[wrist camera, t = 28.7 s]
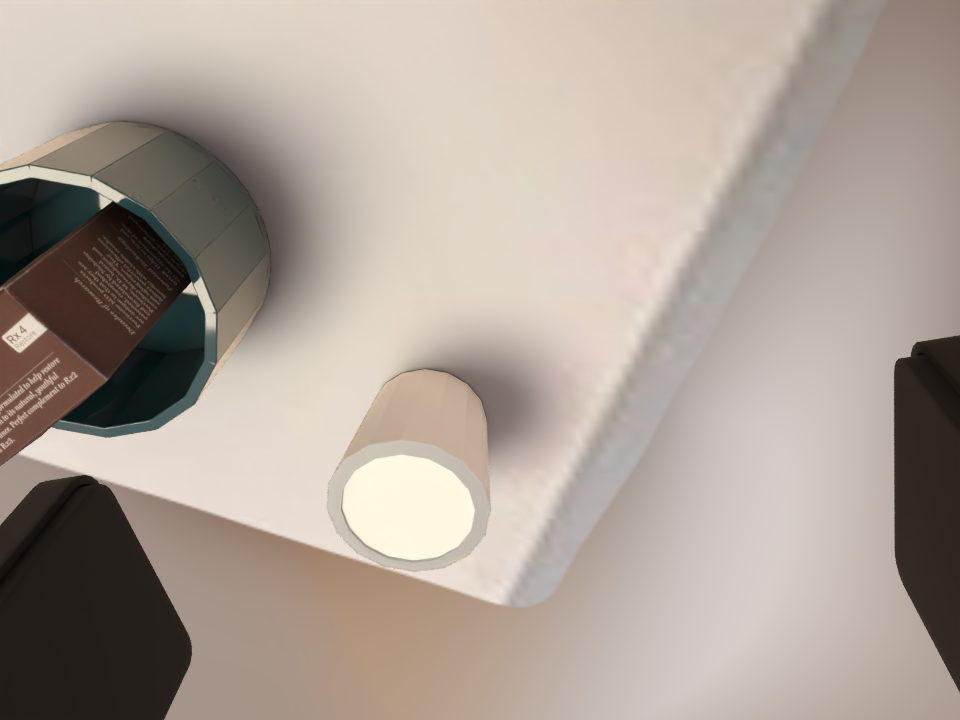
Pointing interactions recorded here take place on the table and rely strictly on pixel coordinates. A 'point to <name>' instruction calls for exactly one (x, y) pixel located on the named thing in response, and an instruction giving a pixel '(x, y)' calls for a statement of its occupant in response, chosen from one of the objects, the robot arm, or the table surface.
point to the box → (79, 319)
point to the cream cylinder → (415, 475)
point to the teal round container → (180, 224)
